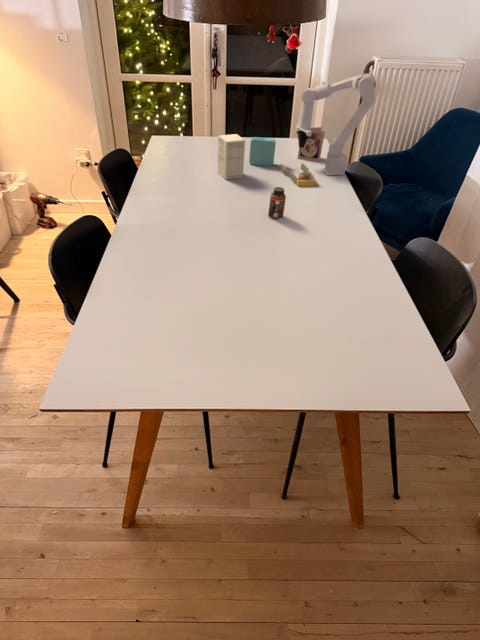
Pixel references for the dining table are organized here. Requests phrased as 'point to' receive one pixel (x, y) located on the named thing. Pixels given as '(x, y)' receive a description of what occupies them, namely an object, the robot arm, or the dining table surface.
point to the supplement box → (231, 156)
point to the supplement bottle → (277, 203)
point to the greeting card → (312, 146)
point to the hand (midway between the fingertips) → (301, 147)
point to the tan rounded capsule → (304, 176)
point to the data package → (262, 151)
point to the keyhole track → (298, 182)
